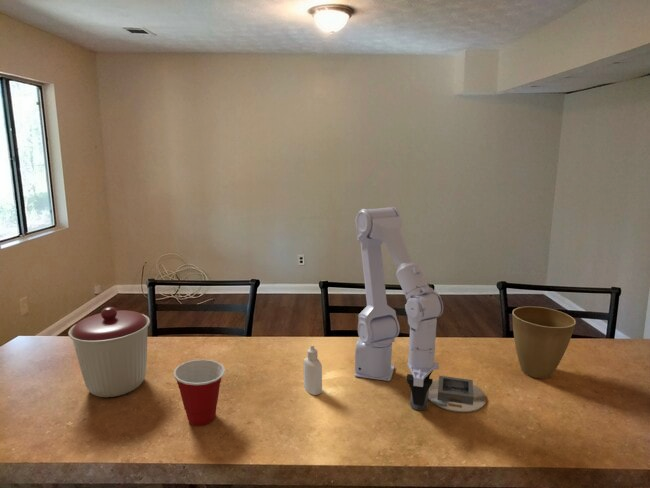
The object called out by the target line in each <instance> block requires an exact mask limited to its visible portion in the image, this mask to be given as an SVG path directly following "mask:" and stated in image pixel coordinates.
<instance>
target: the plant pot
mask: <svg viewBox="0 0 650 488" xmlns="http://www.w3.org/2000/svg"><path fill="white" fill-rule="evenodd" d="M511 314H512V331H513V339H514V345H515V350H516V355H517V359H518V363H519V366H520V370H521V371H522V372H523V374H525V375H526V376H529V377H531V378H534V379H541V380H543V379H549V378H551V377H552V376H553V374H554V373H555V372H556V370H557V368H558V366H559V364H560V363H561V361H562V360H563V356H564V355H565V353H566V351H567V349H568V346H569V344H570V341H571V340H572V339H571V338H572V337H573V336H572V335H573V333H574V330H575V327H576V324H577V323H576V319H575V318H574V317H572V316H571V315H569V314H568V313H565V312H564V311H563V312H562V311H561V310H560V311H559V310H558V309H553V308H550V307H549V308H548V307H543V306H519V307H516V308H514V309H513V310H512V313H511Z"/></svg>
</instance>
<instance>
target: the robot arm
mask: <svg viewBox="0 0 650 488" xmlns="http://www.w3.org/2000/svg"><path fill="white" fill-rule="evenodd" d="M354 220H355V223H354V224H355V231H356V239H357V242H359V243H360V251H361V259H362V269H363V270H362V271H363V278H364V279H363V280H364V288H365V289H364V290H365V298H366V300H365V301H366V307H364V308H363V310H361V312H360V313H359V314H358V315H357V316H358V324H357V334H358V337H359V338H358V339H357V341H356V345H355V356H354V357H355V358H354V359H355V360H354V361H355V362H354V365H355V366H354V376H355V377H358V378H366V379H372V380H377V381H378V380H379V381H387V382H391V380H392V377H393V373H394V369H395V365H394V364H393V365H392V357H393V354H392V353H393V343H395V338H397V337H398V336H399V334H400V330H401V329H400V327H401V326H400V323H399V320H398V318H397V312H396V310H395V309H394V308H392V307H391V306H390V305H388V302H387V292H386V283H385V274H384V264H383V254H382V244H383V243H384V245H385V247H386V249H387V251H388V252H389V254H390V256H391V258H392V260H393V262H394V264H395V266H396V267H397V269H396V273H395V276H396V278H397V281H398V284H399V285H400V287H401V289H402V292H403V294H404V297H405V299H406V304H404V309H405V312H406V316H407V324H408V326H409V343H408V344H409V345H408V360H407V367H408V369H409V371H410V373H411V374H410V373H407V376H406V382H407V384H408V386H409V388H410V393H411V392H412V398H413V403H414V405H420V406H423V405H424V402H425V398H426V394H427V391H428V389H429V387H430V386H431V385H432V381H434V380H433V378H431V375H432V373H433V372H434V370H440V363H439V362H435V354H436V337H437V318H438V317H441V315H442V314H443V312H444V303H443V300H442V297H441V295H440V294H439V293H438V292H436V291H435V290H434V288H432V287H430V286H429V284H428V281H427V280H426V276H424V273H423V271H422V268H421V267H420V265H419V264H418V263H415V262H413V261H412V259H411V256H410V254H409V251H408V250H409V249H408V248H407V245H406V243H405V240H404V238H403V237H404V236H403V234H402V231H401V229H402V222H403V220H402V218H401V214H400V211H398V209H397V208H396V207H394V206H389V207H381V208H380V207H379V208H367V209H366V208H362V209H360V210H359V211H358V213H357V214H356V216H355V219H354Z"/></svg>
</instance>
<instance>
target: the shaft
mask: <svg viewBox="0 0 650 488" xmlns="http://www.w3.org/2000/svg"><path fill="white" fill-rule="evenodd" d="M428 395H429V389H428V391H427V394H426V398H425V402H424V405H423V406H420V405H414V403H413V398H412V392H411V391H410V404H409V405H410V407H411V408H412V409H414V410H416V411H425V410H427V409H428V408H429V399H428Z"/></svg>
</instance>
